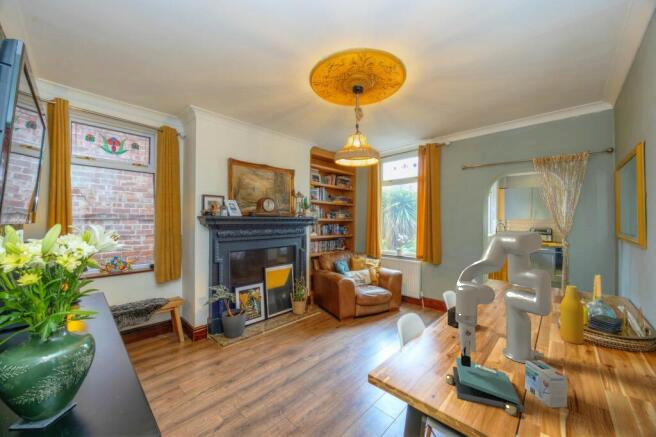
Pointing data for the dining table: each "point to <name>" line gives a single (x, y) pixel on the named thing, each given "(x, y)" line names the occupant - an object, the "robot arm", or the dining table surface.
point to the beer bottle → (572, 317)
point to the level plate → (486, 380)
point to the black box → (452, 317)
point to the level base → (482, 395)
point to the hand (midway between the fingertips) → (465, 365)
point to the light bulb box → (546, 383)
